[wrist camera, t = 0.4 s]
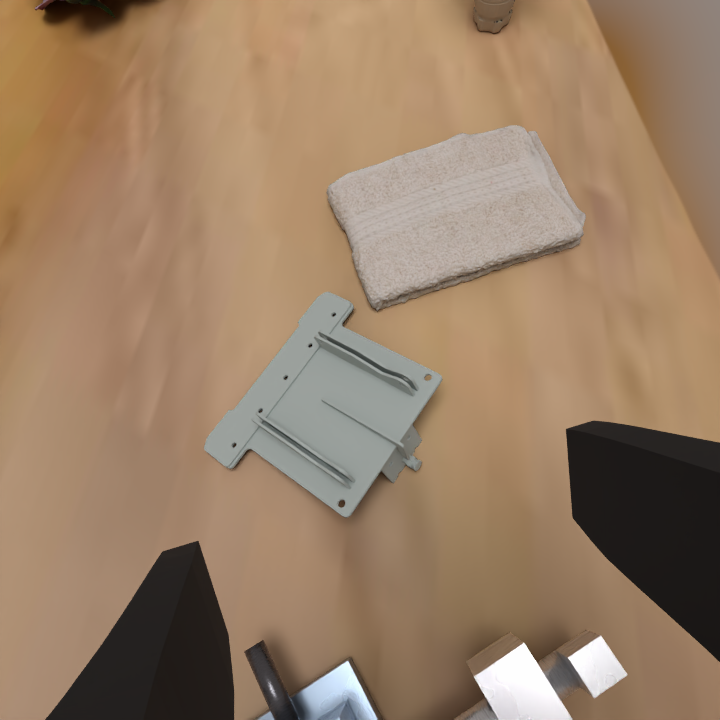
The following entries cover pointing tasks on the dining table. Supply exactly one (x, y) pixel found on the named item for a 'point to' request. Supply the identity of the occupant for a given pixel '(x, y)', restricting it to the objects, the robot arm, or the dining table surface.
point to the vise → (360, 716)
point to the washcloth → (453, 213)
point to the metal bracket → (330, 410)
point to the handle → (492, 14)
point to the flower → (83, 0)
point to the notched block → (515, 682)
